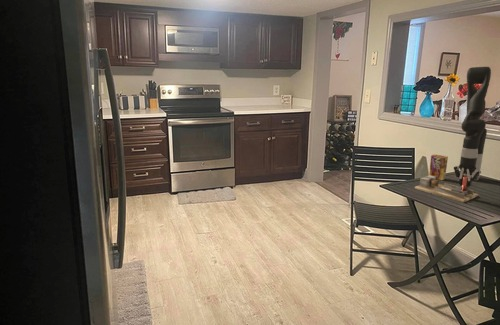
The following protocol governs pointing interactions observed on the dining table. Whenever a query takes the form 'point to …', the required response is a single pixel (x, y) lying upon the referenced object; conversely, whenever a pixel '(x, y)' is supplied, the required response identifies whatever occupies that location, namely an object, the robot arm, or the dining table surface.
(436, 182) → the nut
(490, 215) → the dining table surface
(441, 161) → the candy box
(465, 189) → the plate with copper rod
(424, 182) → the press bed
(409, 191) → the dining table surface
